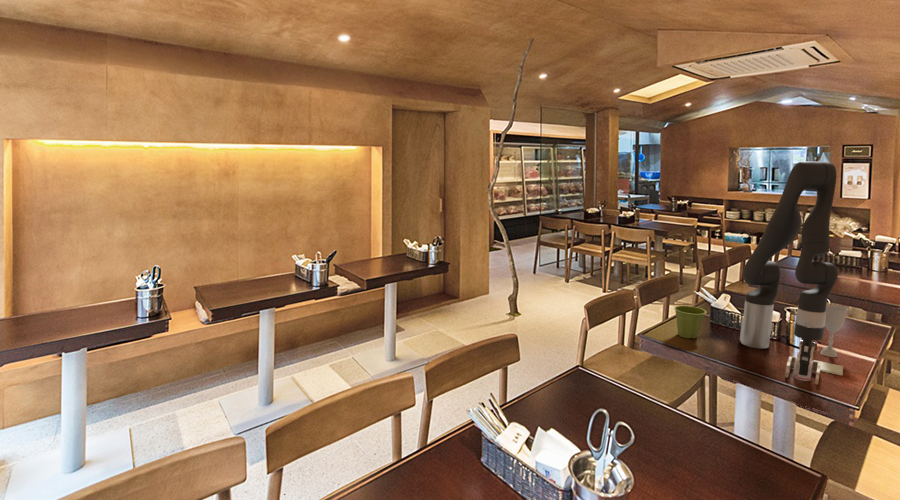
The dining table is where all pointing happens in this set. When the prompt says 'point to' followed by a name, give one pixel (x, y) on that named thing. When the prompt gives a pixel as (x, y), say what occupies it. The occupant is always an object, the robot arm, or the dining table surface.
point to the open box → (814, 370)
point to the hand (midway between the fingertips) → (803, 370)
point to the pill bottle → (797, 366)
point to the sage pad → (831, 368)
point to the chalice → (833, 326)
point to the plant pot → (689, 320)
